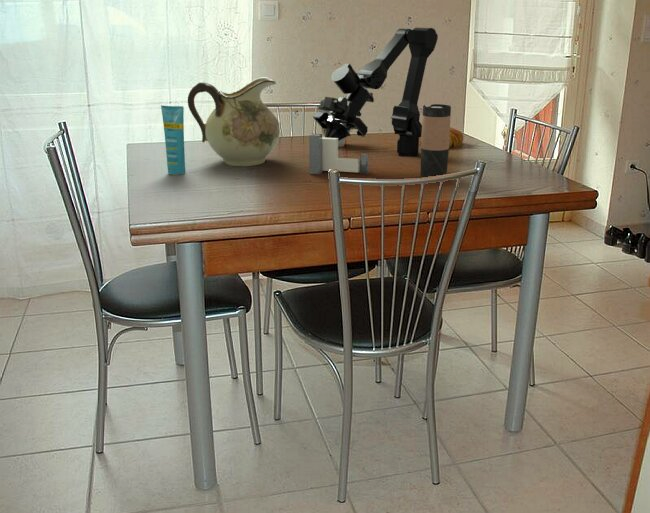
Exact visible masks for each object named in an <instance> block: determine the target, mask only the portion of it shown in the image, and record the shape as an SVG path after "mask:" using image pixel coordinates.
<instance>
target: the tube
mask: <svg viewBox="0 0 650 513" xmlns="http://www.w3.org/2000/svg"><path fill="white" fill-rule="evenodd" d="M160 107H161V108H160V109H161V115H162V123H163V124H162V125H163V132H164V142H165V144H164V145H165V152H166V164H167V174H169V175H171V174H172V175H171V176H179V175H178V174H181V175H184V174H185V173H186V161H185V160H186V158H185V156H186V154H185V130H184V129H185V127H184V124H185V123H184V116H185V115H184V111H185V110H184V106H183V105H181V106H179V105H162V104H161V105H160Z"/></svg>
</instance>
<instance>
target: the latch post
mask: <svg viewBox="0 0 650 513" xmlns="http://www.w3.org/2000/svg"><path fill="white" fill-rule="evenodd" d="M308 143H309V144H308V145H309V146H308V147H309V150H308V152H309V153H308V154H309V155H308V156H309V157H308V158H309V160H308V161H309V163H308V164H309V166H308V167H309V169H308V170H309V174H310V175H321V174H322V173H323V170H322V133H311V134H309V138H308Z"/></svg>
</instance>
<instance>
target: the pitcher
mask: <svg viewBox="0 0 650 513" xmlns="http://www.w3.org/2000/svg"><path fill="white" fill-rule="evenodd" d="M276 84H277V83H276V81H275V80H274V79H272V78H270V77H267V76H262V77H258V78H255V79H253V80H251V82H249V83H247V84H246V85H245V86H243V87H242V88H239V89H238V90H236V91H234V92H231V93H227V92H223V91H222V90H218V88H216V87H215V86H214V85H213V84H210V83H207V82H205V81H199V82H198V83H197V84H195V85H194V86H193V87H192V88H191V89H190V91H189V93H188V95H187V106H188V109H189V112H190V113H191V115H192V116H193V118H194V119H195V121H196V123H197V124H198V127H199V128H200V132H201V135H202V138H201V139H202V140H201V142H202V143H205V142H208V145H209V147H211V150H213V152H214V153H215V154H217V155H218V156H219V157H220V158H221V159H222V160H223V163H224V164H225V165H228V166H232V167H254V166H260V165H262V164H265V161H266V158H267V157H268V155H270V153H272V151H273V150H274V149H275V147H276V145H277V143H278V142H279V139H280V134H281V128H280V122H279V120H278V118H277V117H276V115H275V113H273V111H272V110H271V109H270V108H269V107H268V106H267V105H266V104H265V103H264V102H263V100H262V99H261V93H262V92H263V91H264V89H267V88H268V87H270V86H274V85H276ZM205 92H206V93H207V94H209V95H210V96H211V98H212V100H213V101H214V104H215V108H214V109H213V110H212V111H211V113H210V114H209V115H208V117H207V119H206V122H204V121H203V119H202V117H201V116H200V114H199V112H198V110H197V108H196V105H195V98H196V96H197V95H198V94H199V93H205Z"/></svg>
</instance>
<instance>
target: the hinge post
mask: <svg viewBox="0 0 650 513" xmlns="http://www.w3.org/2000/svg"><path fill="white" fill-rule="evenodd" d="M359 159H360V171H359V174H360V175H368V174H369V161H370V160H369V153H361V154H359Z"/></svg>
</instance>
